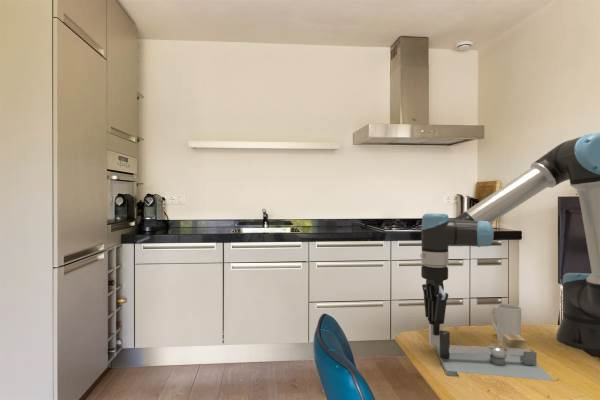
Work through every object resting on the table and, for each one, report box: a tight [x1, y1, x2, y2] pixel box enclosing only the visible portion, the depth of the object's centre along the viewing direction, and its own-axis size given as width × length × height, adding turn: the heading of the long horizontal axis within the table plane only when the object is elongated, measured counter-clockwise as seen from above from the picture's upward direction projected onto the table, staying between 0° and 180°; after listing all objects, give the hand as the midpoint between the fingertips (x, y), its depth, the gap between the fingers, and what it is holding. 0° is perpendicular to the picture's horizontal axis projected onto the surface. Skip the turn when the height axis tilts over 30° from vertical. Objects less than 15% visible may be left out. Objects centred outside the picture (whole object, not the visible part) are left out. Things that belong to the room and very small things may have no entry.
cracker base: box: [434, 346, 555, 382], centre depth 101 cm, size 25×18×3 cm
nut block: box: [502, 334, 527, 356], centre depth 107 cm, size 4×4×4 cm
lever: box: [438, 329, 538, 365], centre depth 100 cm, size 25×4×7 cm, turn 85°
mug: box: [489, 303, 522, 343], centre depth 118 cm, size 10×7×12 cm, turn 21°
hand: (434, 344), depth 108 cm, fingers closed
